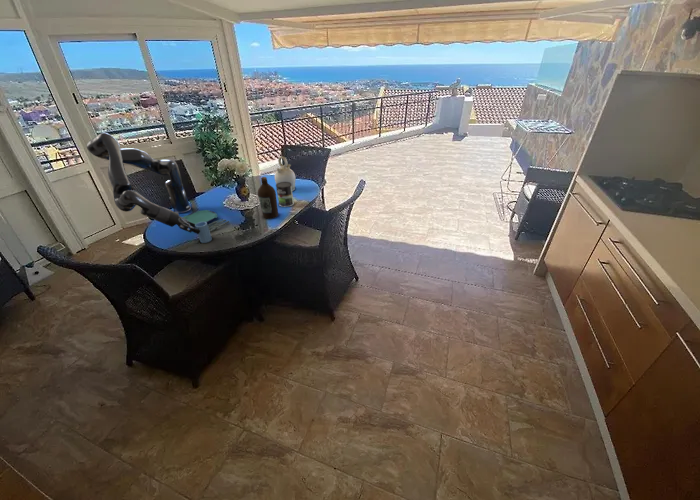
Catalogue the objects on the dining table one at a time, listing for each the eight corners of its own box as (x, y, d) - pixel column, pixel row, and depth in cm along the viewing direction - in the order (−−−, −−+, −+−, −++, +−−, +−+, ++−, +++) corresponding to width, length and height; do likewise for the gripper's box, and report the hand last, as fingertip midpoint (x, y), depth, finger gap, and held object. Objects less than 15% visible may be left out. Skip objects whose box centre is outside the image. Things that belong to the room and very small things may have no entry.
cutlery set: (206, 210, 195) (205, 207, 193) (233, 222, 180) (232, 219, 178) (176, 222, 182) (175, 218, 180) (203, 236, 166) (201, 232, 165)
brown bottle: (267, 211, 191) (259, 174, 178) (282, 212, 189) (275, 175, 176) (259, 218, 183) (251, 180, 169) (275, 220, 181) (267, 181, 167)
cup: (198, 242, 161) (192, 226, 155) (204, 236, 165) (199, 221, 160) (207, 243, 160) (202, 227, 154) (214, 237, 164) (209, 222, 159)
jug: (289, 184, 232) (285, 152, 219) (300, 189, 223) (297, 156, 209) (272, 189, 224) (267, 156, 210) (283, 195, 214) (278, 160, 200)
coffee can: (289, 208, 195) (286, 188, 188) (276, 205, 199) (272, 186, 191) (296, 202, 203) (294, 182, 196) (284, 200, 207) (281, 180, 199)
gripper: (159, 217, 150) (190, 230, 162) (164, 227, 140) (197, 240, 152) (166, 205, 149) (197, 218, 162) (172, 214, 140) (204, 228, 152)
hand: (197, 229), depth 157 cm, fingers open, 8 cm apart
